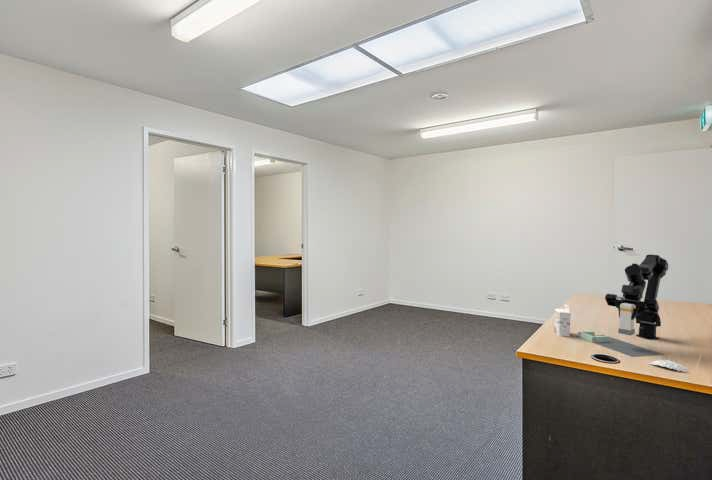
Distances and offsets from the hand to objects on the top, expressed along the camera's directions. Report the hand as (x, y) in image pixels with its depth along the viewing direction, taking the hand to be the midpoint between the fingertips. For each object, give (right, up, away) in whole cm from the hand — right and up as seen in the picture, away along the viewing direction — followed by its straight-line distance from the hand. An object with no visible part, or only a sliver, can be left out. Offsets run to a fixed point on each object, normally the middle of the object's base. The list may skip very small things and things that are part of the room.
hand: (625, 318), depth 167 cm
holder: (-5, -12, +14) cm, 19 cm away
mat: (0, -13, +5) cm, 14 cm away
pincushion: (0, -14, -23) cm, 27 cm away
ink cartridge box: (-15, -13, +23) cm, 30 cm away
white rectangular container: (+1, -7, +1) cm, 7 cm away
